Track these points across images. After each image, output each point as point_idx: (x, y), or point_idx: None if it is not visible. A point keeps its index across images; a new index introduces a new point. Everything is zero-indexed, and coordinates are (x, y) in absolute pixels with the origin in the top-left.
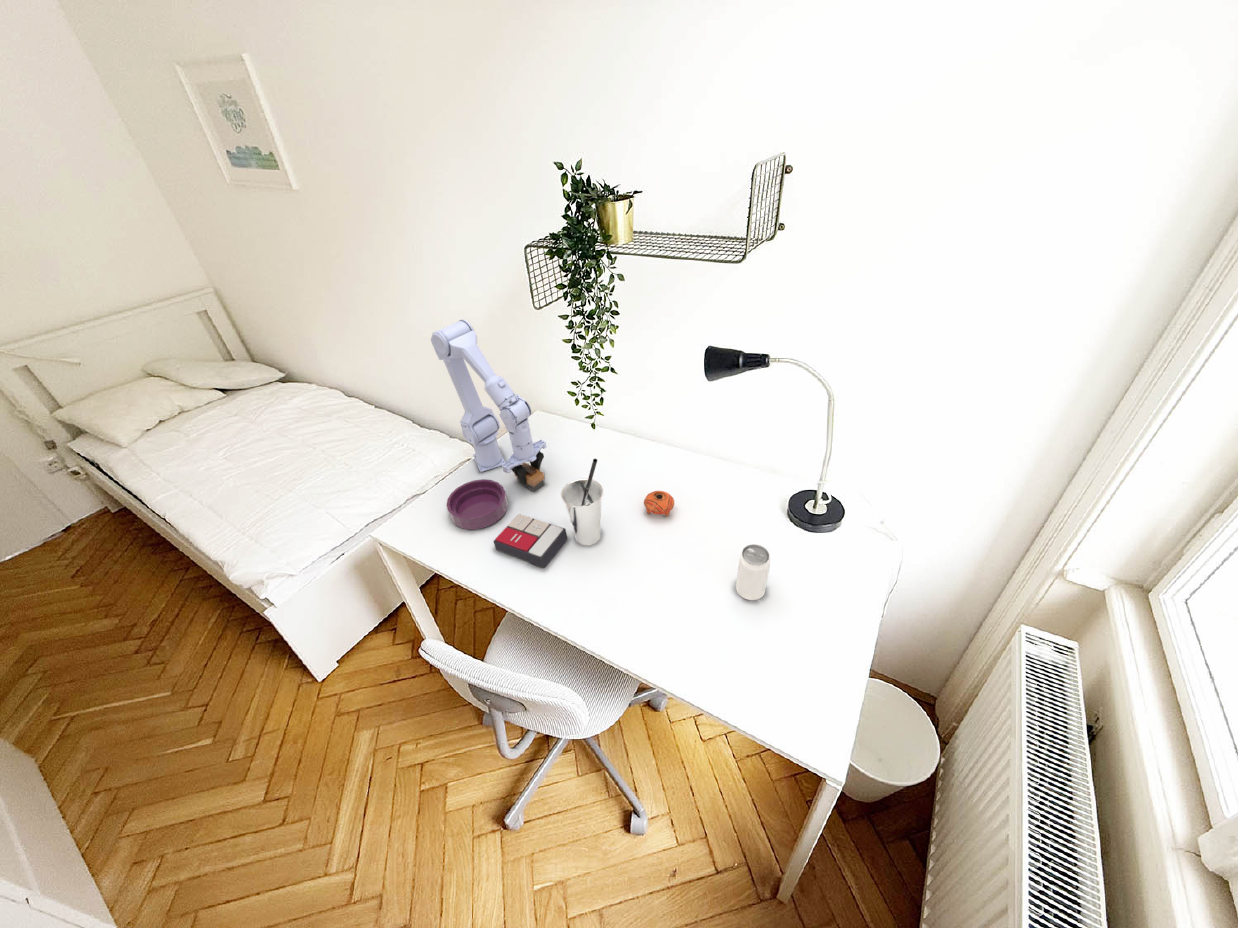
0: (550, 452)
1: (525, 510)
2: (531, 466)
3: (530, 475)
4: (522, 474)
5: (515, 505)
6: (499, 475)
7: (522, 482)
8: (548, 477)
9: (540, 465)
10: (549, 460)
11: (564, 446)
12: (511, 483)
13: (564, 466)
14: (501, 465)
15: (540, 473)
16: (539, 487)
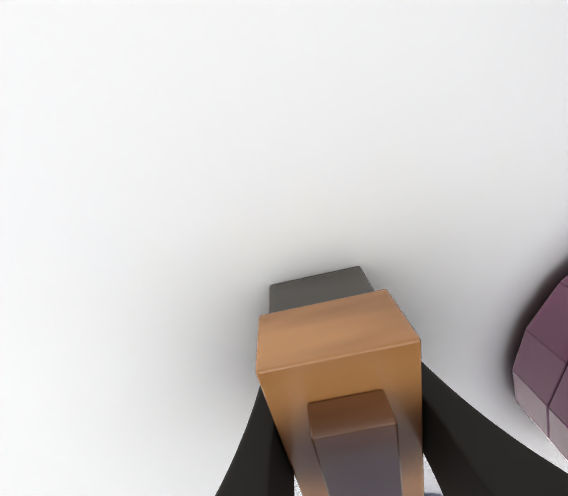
0: (113, 463)
1: (542, 135)
2: (298, 471)
3: (387, 402)
4: (536, 470)
5: (535, 232)
6: None
7: None
8: (211, 325)
9: (235, 458)
10: (142, 426)
11: (23, 464)
12: None
13: (73, 350)
14: None
15: (288, 376)
16: (315, 279)
